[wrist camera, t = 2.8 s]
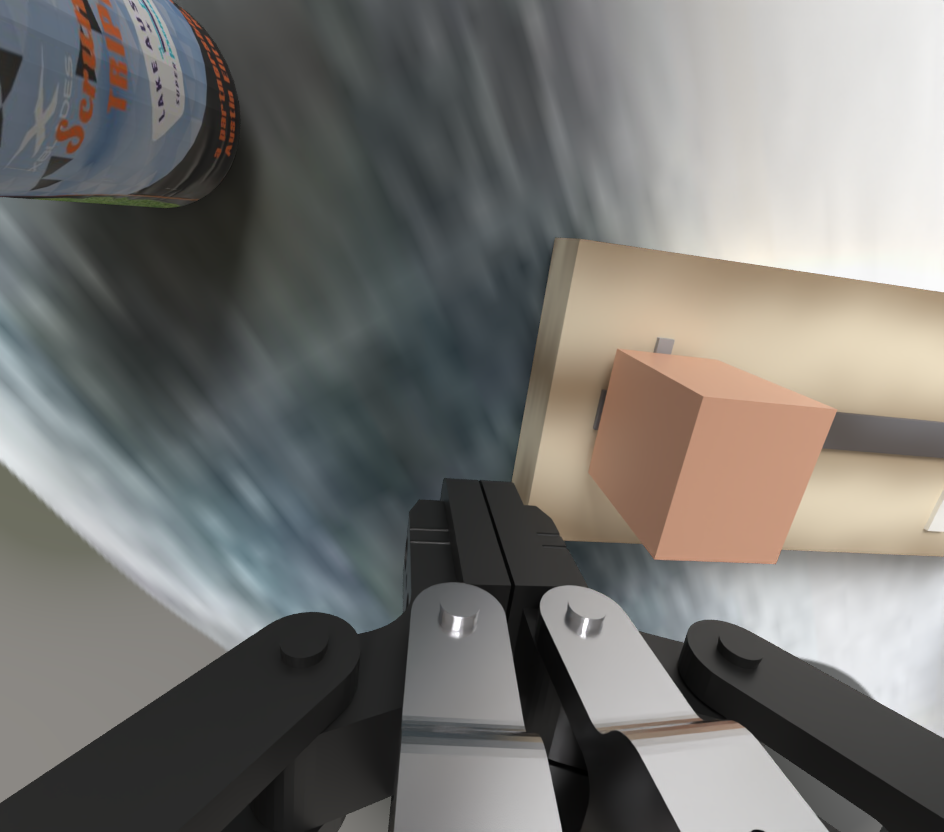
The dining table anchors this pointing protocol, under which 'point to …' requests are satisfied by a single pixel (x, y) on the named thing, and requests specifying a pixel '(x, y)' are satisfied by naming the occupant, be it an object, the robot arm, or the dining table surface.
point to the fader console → (759, 353)
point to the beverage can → (112, 103)
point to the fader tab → (705, 456)
